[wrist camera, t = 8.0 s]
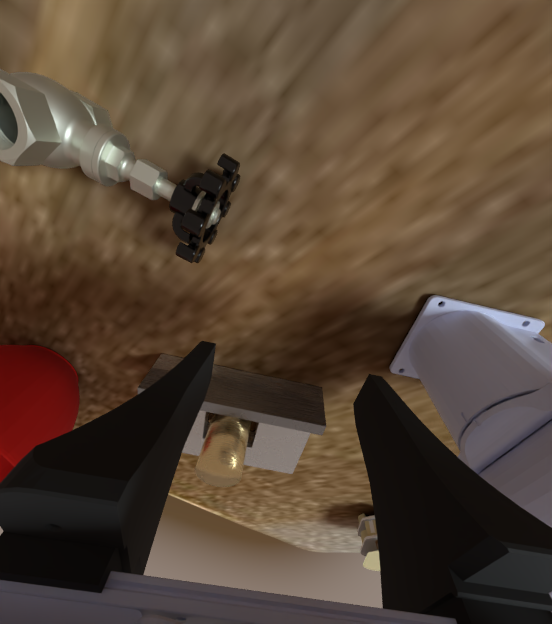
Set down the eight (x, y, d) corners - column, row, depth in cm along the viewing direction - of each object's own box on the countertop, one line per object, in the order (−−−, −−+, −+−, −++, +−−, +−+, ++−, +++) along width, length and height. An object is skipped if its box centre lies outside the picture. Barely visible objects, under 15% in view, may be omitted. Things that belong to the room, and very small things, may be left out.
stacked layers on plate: (427, 504, 36) (446, 557, 32) (394, 533, 41) (407, 582, 36) (357, 488, 36) (367, 539, 31) (332, 519, 40) (337, 568, 35)
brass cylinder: (253, 396, 28) (240, 462, 22) (253, 422, 30) (241, 489, 24) (215, 393, 28) (192, 457, 22) (217, 419, 30) (197, 484, 24)
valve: (51, 164, 18) (212, 248, 21) (-59, 165, 13) (180, 283, 15) (61, 48, 15) (249, 162, 18) (-77, -18, 10) (226, 163, 12)
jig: (321, 387, 27) (326, 426, 23) (292, 457, 33) (291, 497, 29) (161, 353, 26) (137, 387, 22) (161, 431, 32) (142, 469, 28)
